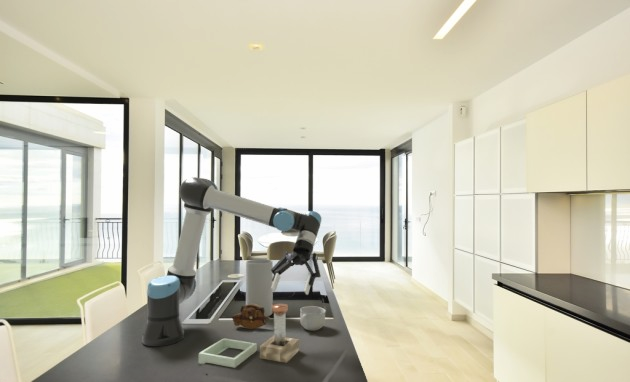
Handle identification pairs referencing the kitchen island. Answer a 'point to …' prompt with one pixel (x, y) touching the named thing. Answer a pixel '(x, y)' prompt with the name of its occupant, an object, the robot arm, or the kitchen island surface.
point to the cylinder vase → (259, 284)
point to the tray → (212, 352)
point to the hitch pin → (280, 323)
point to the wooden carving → (250, 316)
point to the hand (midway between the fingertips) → (289, 291)
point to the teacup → (312, 317)
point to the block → (279, 350)
